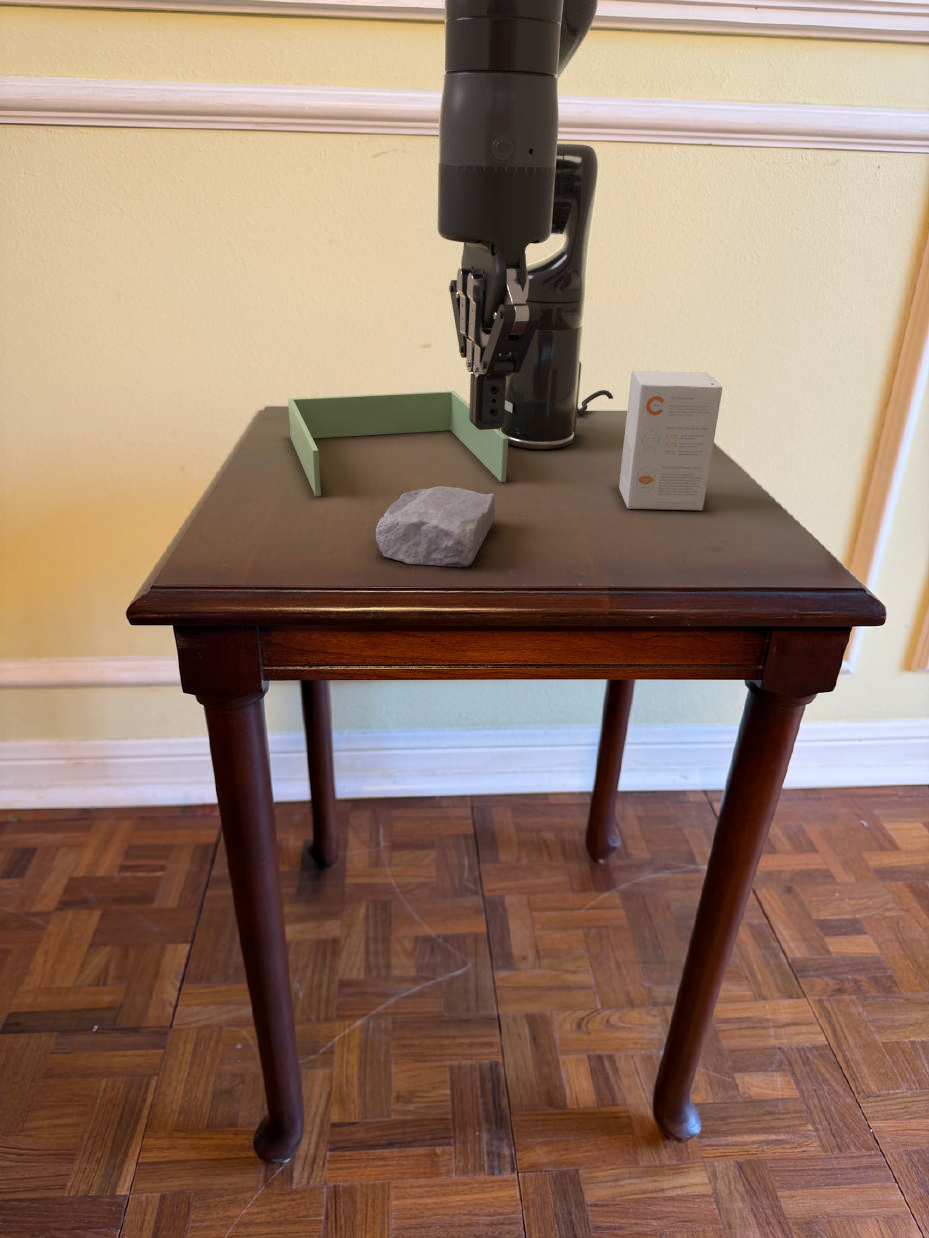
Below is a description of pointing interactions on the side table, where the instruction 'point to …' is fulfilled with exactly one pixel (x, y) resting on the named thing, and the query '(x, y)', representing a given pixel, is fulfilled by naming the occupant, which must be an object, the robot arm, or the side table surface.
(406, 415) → the green u-shaped fence
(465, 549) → the stone block
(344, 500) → the side table surface
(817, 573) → the side table surface
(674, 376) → the small box
